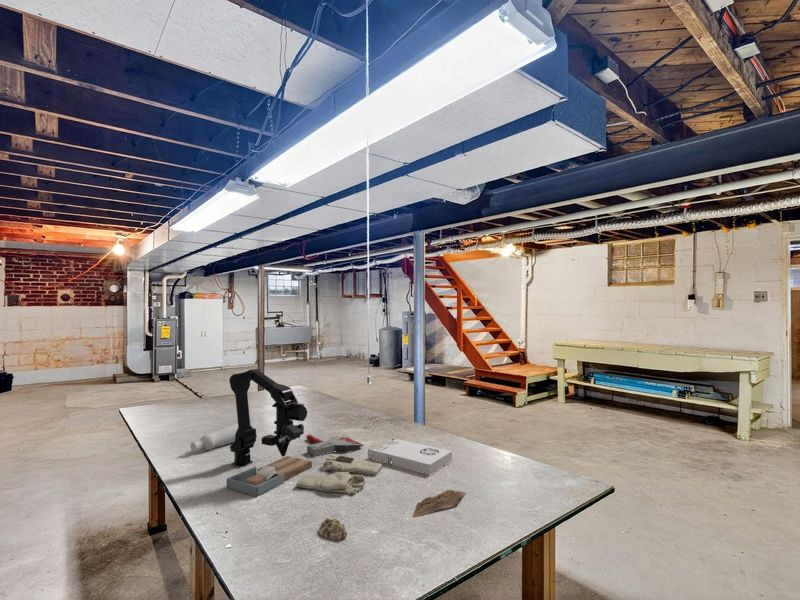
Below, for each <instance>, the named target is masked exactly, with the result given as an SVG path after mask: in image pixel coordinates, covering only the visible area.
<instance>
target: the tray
mask: <svg viewBox="0 0 800 600" xmlns="http://www.w3.org/2000/svg"><path fill="white" fill-rule="evenodd" d="M257 469H258V468H257V466H253V467H251V468H248V469H245V470H244V471H242V472H241V471H240V472H239V473H237V474H235V475H232V476H230V477H228V478H226V489H229V490H231V491H234V492H238V493H241V494H245V495H247V496H252V497H254V498H258V497H259V496H261V495H264V494H266V493H267V492H270V491H271V490H274V489H275V488H277V487H279V486H281V485H284V483H285V481H284V474H281V475H278V476H276V477H274V478H269V479H268V480H266V482H264V483H262V484H260V485H258V486H255V485H251V484H248V483H246V479H248V478H250V477H252V476H254V475H256V473H257Z"/></svg>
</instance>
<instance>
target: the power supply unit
mask: <svg viewBox="0 0 800 600" xmlns="http://www.w3.org/2000/svg"><path fill="white" fill-rule="evenodd" d="M368 458H369V459H368ZM370 458H371V459H372V458H373V459H372V461H375V460H377V461H376V462H379V461H380V462H379V463H382V462H384V463H383V464H386V463H388V464H387V465H390V464H391V461H392V464H391V466H394V465H395V466H394V467H397V466H398V467H397V468H401V467H402V468H401V469H405V468H406V469H405V470H408V469H410V470H409V471H412V470H415V471H414V472H416V471H419V472H418V473H420V472H423V473H427V474H432V473H433V472H435V471H436V470H438V469H439V468H441V467H442V466H444V465H445V464H447V463H448V462H450V461H451V460H452V461H453V451H451V450H449V449H443V448H439V447H434V446H430V445H424V444H420V443H416V442H412V441H408V440H404V439H403V440H402V439H398V438H391V441H389V442H387V443H385V444H382V445H380V446H378V447H376V448H374V449H370V448H369V449H367V459H368V460H371V459H370ZM450 463H451V462H450ZM447 465H448V464H447ZM445 466H446V465H445ZM445 466H444V467H445ZM442 468H443V467H442ZM442 468H441V469H442ZM439 470H440V469H439ZM439 470H438V471H439ZM436 472H437V471H436ZM436 472H435V473H436ZM423 473H422V474H423ZM427 474H426V475H427ZM433 474H434V473H433ZM433 474H432V475H433Z"/></svg>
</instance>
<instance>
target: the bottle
mask: <svg viewBox="0 0 800 600" xmlns="http://www.w3.org/2000/svg"><path fill="white" fill-rule="evenodd" d="M237 429H238V422H236V423H234V424H232V425H229V426H227V427H224V428H222V429H218V430H216V431H213V432H212V433H206V434H203V436H201V437H200V439H198V440H197V441H192V442H190V444H189V445H190V450H191V452H193V453H196V452H197V451H199V450H200V451H201V450H203V451H206V450H209V451H211V450H213V449H214V448H219V447H222V446H225V445H228V444H233V443H234V441H235V434H236V432H237Z"/></svg>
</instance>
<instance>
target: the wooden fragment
mask: <svg viewBox="0 0 800 600" xmlns="http://www.w3.org/2000/svg"><path fill="white" fill-rule="evenodd" d="M465 493H466V492H465V491H460V490H453V489H446V490H445V491H443V492H441V493H438V494H437V496H433V497H431V496H428V497H425V498H423V500H421V501H420V502H417V504H416V506H415V509H414V512H413V514H412V517H413V518H415V517H419V516H423V515H427V514H431V513H434V512H437V511H439V510H444V509H450V508H456V507H458V504H459V503H460V501H461V500H462V498H463V497H464V496H465Z"/></svg>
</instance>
